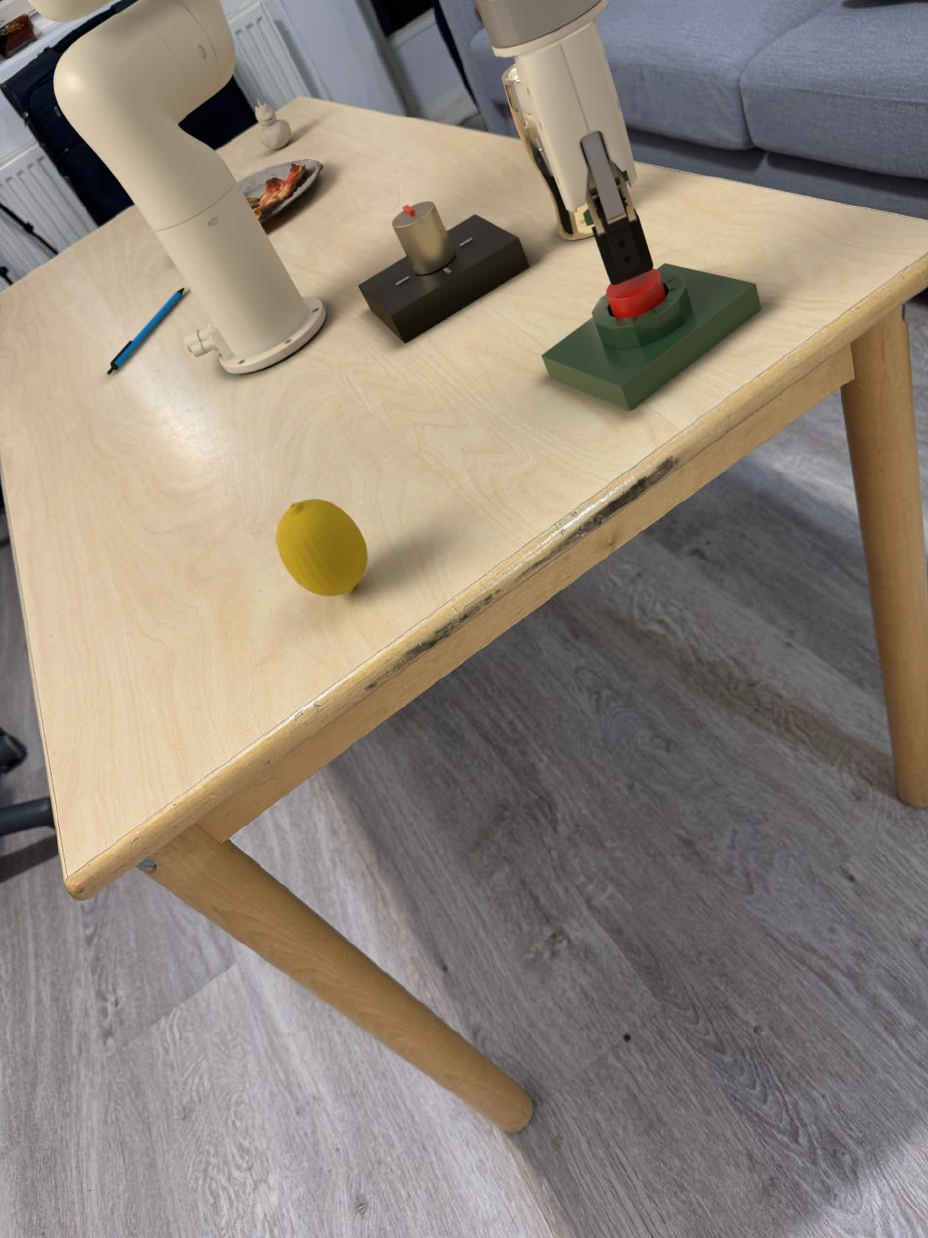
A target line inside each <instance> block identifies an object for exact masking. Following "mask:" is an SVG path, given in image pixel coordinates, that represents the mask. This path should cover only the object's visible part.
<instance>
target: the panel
mask: <svg viewBox="0 0 928 1238" xmlns="http://www.w3.org/2000/svg"><path fill="white" fill-rule="evenodd" d="M446 232H447V234H448V236H449V238H450V241H451V243H452V245H453V248H454V250H455V256H454V258H453V259H452V260H451V261H450V262H449V263H448V264H447V265H445V266H444V267H442V268H440V269H438V270H436V271H434V272H432V273H428V274H424V275H418V274H416V273H415V272H414V271H413V269H412V266H411V264H410V262H409V260H408V258H407V256H406V255H405V256H404V257H402V258H400V259H399V260H397V261H396V262H394V263H392V264H391V265H389V266H387V267H386V268H383V270H381V271H379V272H378V273H376V274H374V275H372V276H371V277H369V278H368V279H366V280H364V281H362V282H361V283H359V284H357V287H358V289H359V291H360V293H361V295H362V296H363V298H364V300H365V302H366V305H367V306H368V308H369V310H370V311H371V312H372V314H374V315H375V316H376V317H377V318H378V319H379V320H380V321H381V322H382V323H383V324H384V325H385V326H386V327H387V328H388V329H389V330H390V331H391V332H392V333H393V334H394V335H395V336H396V337H397V338H399V340H401V342H402V343H403V344H406V343H408V342H410V341H411V340H413V339H414V338H416V337H418V336H419V335H420V334H422V333H424V332H426V331H427V330H429V329H430V328H433V327H434V326H436V325H437V324H439V323H440V322H442V321H443V320H445V319H447V318H449V317H450V316H452V315H454V314H455V313H457V312H458V311H460V310H461V309H463V308H465V307H467V306H468V305H470V304H471V303H473V302H475V301H476V300H478V299H479V298H481V297H483V296H485V295H486V294H488V293H489V292H491V291H492V290H494V289H496V288H497V287H500V286H501V285H503V284H504V283H506V282H508V281H509V280H511V279H512V278H514V277H516V276H517V275H518V274H521V273H522V272H524V271H525V270H527V269H529V268H530V267H531V265H530V263H529V260H528V257H527V255H526V252H525V249H524V247H523V244H522V242H521V239H520V237H519V236H516V235H515V234H513V233H511V232H509V231H507V230H505V229H503V228H502V227H500V226H498V225H496V224H495V223H493V222H491V221H489V220H487V219H486V218H483V217H481V216H480V215H478V214H476V213H474V214H473V215H470V217H467V218H466V219H464V220H462V221H461V222H460V223H457V224H456V225H455V226H453V227H451V228H449V229H448V230H446Z"/></svg>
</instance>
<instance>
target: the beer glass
mask: <svg viewBox="0 0 928 1238" xmlns="http://www.w3.org/2000/svg"><path fill="white" fill-rule="evenodd" d="M500 79H501V82H502V85H503V88H504V91H505V95H506V99H507V102H508V106H509V109H510V113H511V116H512V119H513V123H514V126H515V128H516V131H517V134H518V135H519V139H520V140H521V143H522V145H523V147H524V150H525V151H526V153H527V155H528V157H529V158H530V160H531V162H532V164H533V166H534V167H535V169H536V171H537V173H538V175H539V176H540V178H541V180H542V182H543V183H544V185H545V187H546V189H547V191H548V193H549V195H550V198H551V200H552V203H553V207H554V211H555V217H556V224H557V228H558V233H559V235H560V237H561V238H562V239H564V240H568V241H578V240H583V239H587V238H590V237H592V236H594V234H593V231H592V228H591V227H593V226H595V225H594V223H593V221H592V218H591V215H590V212H589V209H588V206H587V203H586V204H585V205H583V206H581V207H579V208H577V211H578V212H576V213H572V212H570V211H568V210H567V209H566V207H565V205H564V202H563V199H562V197H561V194H560V191H559V189H558V186H557V183H556V181H555V178H554V175H553V172H552V170H551V167H550V164H549V161H548V159H547V156H546V153H545V150H544V147H543V145H542V142H541V139H540V136H539V134H538V131H537V128H536V125H535V122H534V119H533V117H532V114H531V111H530V108H529V105H528V102H527V99H526V96H525V93H524V90H523V87H522V84H521V81H520V77H519V74H518V70H517V67H516V63H515V62H514V63H513V64H512V65H510V66H509V67H508V68H507V69H506V70H505V71H504V72H503V74H502V75H501V78H500Z"/></svg>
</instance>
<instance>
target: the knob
mask: <svg viewBox="0 0 928 1238" xmlns="http://www.w3.org/2000/svg"><path fill="white" fill-rule="evenodd" d="M391 226H392V229H393V230H394V233H395V235H396V237H397V239H398V241H399V243H400V245H401V248H402V249H403V252H404V255H405V256H407V258H408V260H409V262H410V264H411V266H412V269H413V271H414V272H415V273H416V274H418V275H424V274H428V273H432V272H434V271H436V270H438V269H440V268H442V267H444V266H445V265H447V264H448V263H449V262H450V261H451V260H452V259H453V258H454V256H455V250H454V248H453V245H452V243H451V241H450V238H449V236H448V234H447V232H446V231H447V230H446V227H445V225H444V222H443V220H442V218H441V215H440V213H439V211H438V209H437V207H436V204H435V202H433V201H430V200H426V201H425V200H424V201H421V202H417V203H415V204H413V205H411V206H410V205H409V204H406V205H404V206H402V211H401V212H400V213H398V214H397V215H396V216H394V218H393V219H392V222H391Z"/></svg>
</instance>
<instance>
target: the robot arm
mask: <svg viewBox="0 0 928 1238" xmlns="http://www.w3.org/2000/svg"><path fill="white" fill-rule="evenodd" d="M27 1H28V3H29V4H30V6H31V7H32V8H33V9H34V10H35V11H36V12H37V13H38V14H39V15H40V16H42V17H43V18H45V19H47V20H49V21H52V22H56V23H69V22H74V21H78V20H81V19H84V18H85V17H88V16H89V15H91V14H93V13H95V12H97V11H99V10H100V9H102V8H103V7H105V6H106V5H108V4H109V3H111V2H113V1H114V0H27ZM474 1H475V4H476V7H477V9H478V13H479V15H480V19H481V21H482V24H483V26H484V29H485V32H486V34H487V37H488V40H489V43H490V45H491V49H492V52H493V54H494V56H495V57H497V58H501V59H503V58H504V59H505V58H513V60H514V64H515V63H516V67H517V70H518V74H519V77H520V81H521V84H522V87H523V90H524V93H525V96H526V99H527V102H528V105H529V108H530V111H531V114H532V117H533V119H534V122H535V125H536V128H537V131H538V134H539V136H540V139H541V142H542V145H543V147H544V150H545V153H546V156H547V159H548V161H549V164H550V167H551V170H552V172H553V175H554V178H555V181H556V183H557V186H558V189H559V191H560V194H561V197H562V199H563V202H564V205H565V207H566V209H567V210H568V211H570V212H572V213H576V212H578V211H577V208H579V207H581V206H583V205H585V204H586V203H587V206H588V209H589V212H590V215H591V218H592V221H593V223H594V225H595V226H593V227H591V228H592V231H593V234H594V235H593V238H594V240H595V243H596V246H597V249H598V253H599V255H600V257H601V261H602V263H603V266H604V270H605V272H606V275H607V277H608V281H609V284H612V285H618V284H620V283H623V282H625V281H627V280H630V279H632V278H634V277H637V276H639V275H642V274H644V273H646V272H649V271H651V270H652V269H653V268H654V266H655V265H654V261H653V258H652V255H651V252H650V249H649V245H648V242H647V241H648V240H647V239H646V235H645V232H644V229H643V226H642V223H641V219H640V216H639V214H638V213H637V210H636V208H634V205H633V202H632V198H631V196H630V195H631V194H630V191H629V189H628V187H629V188H630V189H632V188H633V187H634V185H635V184H636V181H637V179H638V174H637V170H636V169H637V168H636V164H635V160H634V155H633V151H632V147H631V143H630V139H629V135H628V131H627V127H626V123H625V119H624V115H623V111H622V108H621V104H620V100H619V96H618V93H617V88H616V86H615V83H614V78H613V75H612V72H611V68H610V64H609V61H608V58H607V53H606V51H605V47H604V44H603V41H602V38H601V37H602V36H601V34H600V30H599V28H598V23H597V20H596V18H597V17H598V16H599V15H601V14H602V13H603V12H604V11H605V10H606V8H607V7H608V6H609V4H610V3H611V0H474ZM236 59H237V58H236V47H235V42H234V39H233V34H232V31H231V28H230V25H229V22H228V20H227V17H226V14H225V11H224V9H223V6H222V4H221V0H137V1H135V2H134V3H132V4H130V5H129V6H128V7H126V8H125V9H123V10H122V11H120V12H118V13H115V14H113V15H111V17H109V18H107V19H106V20H104V21H103V22H101V23H100V24H98V25H97V26H96V27H94V28H92V29H91V30H89V31H88V32H86V33H85V34H83V35H82V36H80V37H79V38H77V39H76V41H74V42H73V43H72V44H71V45H70V46H69V47H68V48H67V49H66V50H65V51H64V52H63V54H62V55H61V56H60V58H59V60H58V62H57V64H56V67H55V69H54V75H53V90H54V91H53V92H54V95H55V98H56V101H57V105H58V106H59V108H60V110H61V112H62V114H63V115H64V117H65V118H66V119H67V121H68V122H69V124H70V125H71V126H72V127H73V129H74V130H75V131H76V132H77V134H78V135H79V136H80V137H81V138H82V140H84V142H86V144H87V145H88V146H89V147H90V148H91V149H92V150H93V152H94V153H95V154H96V155H97V156H98V157H99V158H100V160H101V161H102V162H103V163H104V164H105V165H106V167H107V168H108V169H109V171H110V172H111V173H112V174H113V176H114V177H115V178H116V180H117V181H118V182H119V183H120V185H121V187H122V188H123V189H124V190H125V192H126V193H127V195H128V196H129V197H130V199H131V200H132V202H133V203H134V205H135V207H136V208H137V210H138V212H140V214H141V215H142V217H143V219H144V220H145V222H146V224H147V225H148V226H149V228H150V229H151V230H152V232H153V233H154V235H155V237H156V238H157V240H158V241H159V243H160V244H161V246H162V248H163V250H165V252H166V254H167V255H168V257H169V258H170V260H171V261H172V263H173V265H174V266H175V267H176V270H177V271H178V273H179V274H180V275H181V277H182V278H183V280H184V282H185V283H186V285H187V287H188V288H189V290H190V291H191V292H192V294H193V296H194V298H196V299H195V300H197V302H198V303H199V305H200V306H201V308H202V310H203V311H204V313H205V314H206V316H207V317H208V319H209V322H207V327H204V328H202V329H197V330H195V331H193V332H190V333H188V334H186V335H184V336H183V343H184V345H185V348H186V349H187V350H188V352H189V353H191V354H193V356H194V357H195V358H200V357H202V356H204V355H206V354H208V353H209V352H211V351H216V352H219V353H218V354H219V355H218V360H219V363H220V364H221V366H222V367H223V369H224V370H225V371H226V372H227V373H230V374H235V375H242V374H249V373H254V372H256V371H260V370H263V369H266V368H267V367H270V366H272V365H274V364H277V363H279V362H280V361H282V360H284V359H285V358H287V357H289V356H290V355H292V354H294V353H295V352H297V351H298V350H300V348H302V347H303V346H304V345H306V344H307V343H308V342H309V341H310V340H311V339H312V338H313V337H314V336H315V335H316V334H317V333H318V331H319V330H320V329H321V328H322V326H323V324H324V322H325V320H326V316H327V311H326V308H325V306H324V304H323V302H322V301H321V299H319V298H316V297H313V296H302V295H301V293H300V291H299V290H298V288H297V286H296V284H295V282H294V280H293V279H292V277H291V276H290V275H291V274H290V273H289V272H288V269H287V268H286V267H285V265H284V262H283V261H282V260H281V259H282V258H280V256H279V254H278V252H277V251H276V248H275V247H274V245H273V244H272V241H271V240H270V238H269V236H268V234H267V233H266V230H265V229H264V227H263V226H262V224H260V222H259V221H258V219H257V217H256V215H255V213H254V212H253V210H252V208H251V206H250V205H249V203H248V201H247V199H246V198H245V196H244V194H243V192H242V190H241V189H240V187H239V185H238V183H237V182H238V181H237V180H236V178H235V177H234V174H233V173H232V172H231V169H230V168H229V166H228V165H227V163H226V161H225V160H224V159H223V158H222V157H221V156H220V155H219V154H218V153H217V151H216V150H214V149H213V148H212V147H210V146H209V145H208V144H206V143H204V142H203V141H201V140H199V139H197V138H196V137H194V136H192V135H190V134H189V133H187V132H186V131H184V130H183V129H182V128H181V127H180V126H179V124H180V123H181V122H182V121H183V120H184V119H185V118H186V117H187V116H188V115H189V114H190V113H192V112H193V111H195V110H196V109H197V108H199V107H200V106H202V104H204V103H205V102H206V101H208V100H209V99H211V98H212V97H213V96H215V95H216V94H217V93H219V91H221V90H222V89H223V88H224V87H225V86H226V85H228V83H229V81H230V80H231V78H232V76H233V74H234V72H235V68H236V62H237V61H236Z"/></svg>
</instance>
